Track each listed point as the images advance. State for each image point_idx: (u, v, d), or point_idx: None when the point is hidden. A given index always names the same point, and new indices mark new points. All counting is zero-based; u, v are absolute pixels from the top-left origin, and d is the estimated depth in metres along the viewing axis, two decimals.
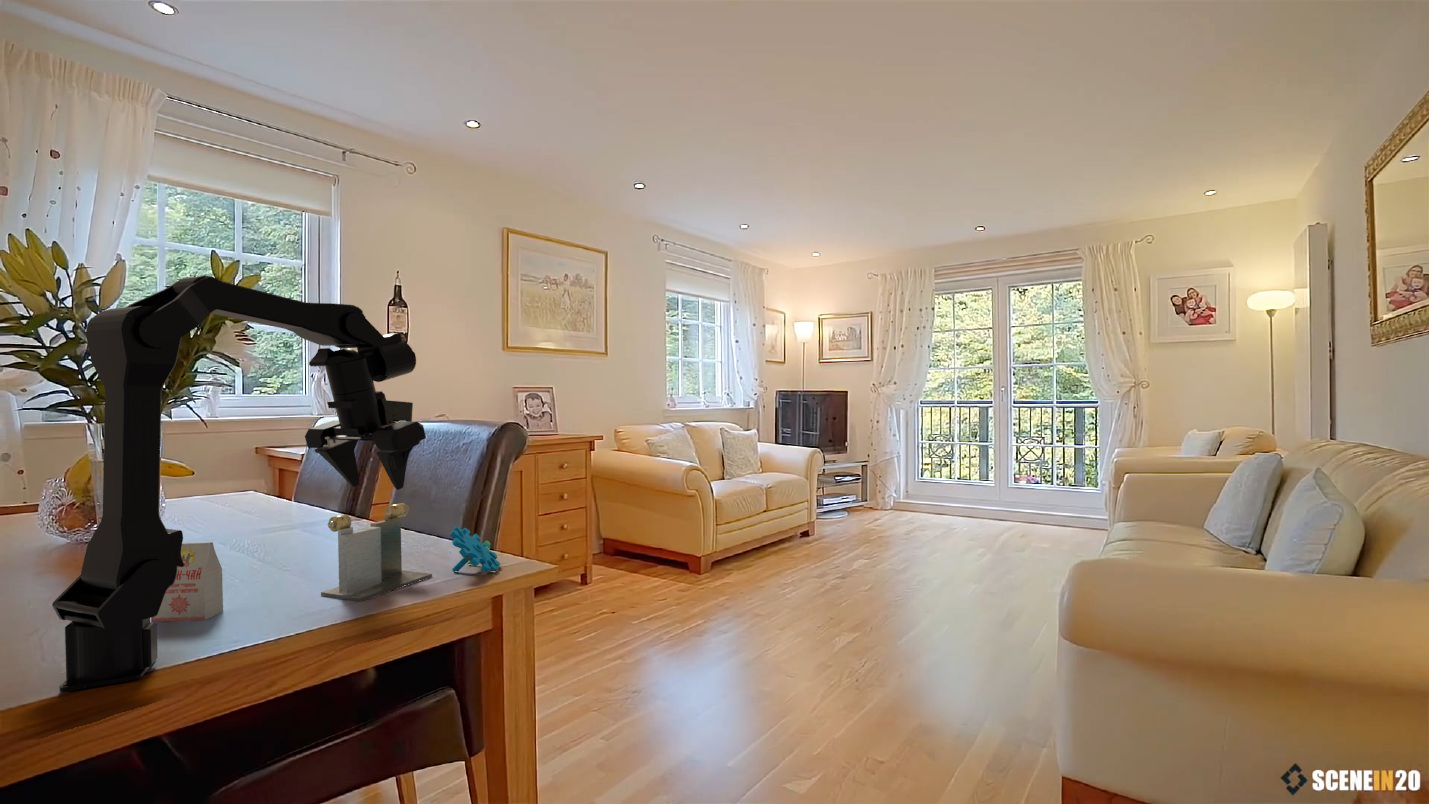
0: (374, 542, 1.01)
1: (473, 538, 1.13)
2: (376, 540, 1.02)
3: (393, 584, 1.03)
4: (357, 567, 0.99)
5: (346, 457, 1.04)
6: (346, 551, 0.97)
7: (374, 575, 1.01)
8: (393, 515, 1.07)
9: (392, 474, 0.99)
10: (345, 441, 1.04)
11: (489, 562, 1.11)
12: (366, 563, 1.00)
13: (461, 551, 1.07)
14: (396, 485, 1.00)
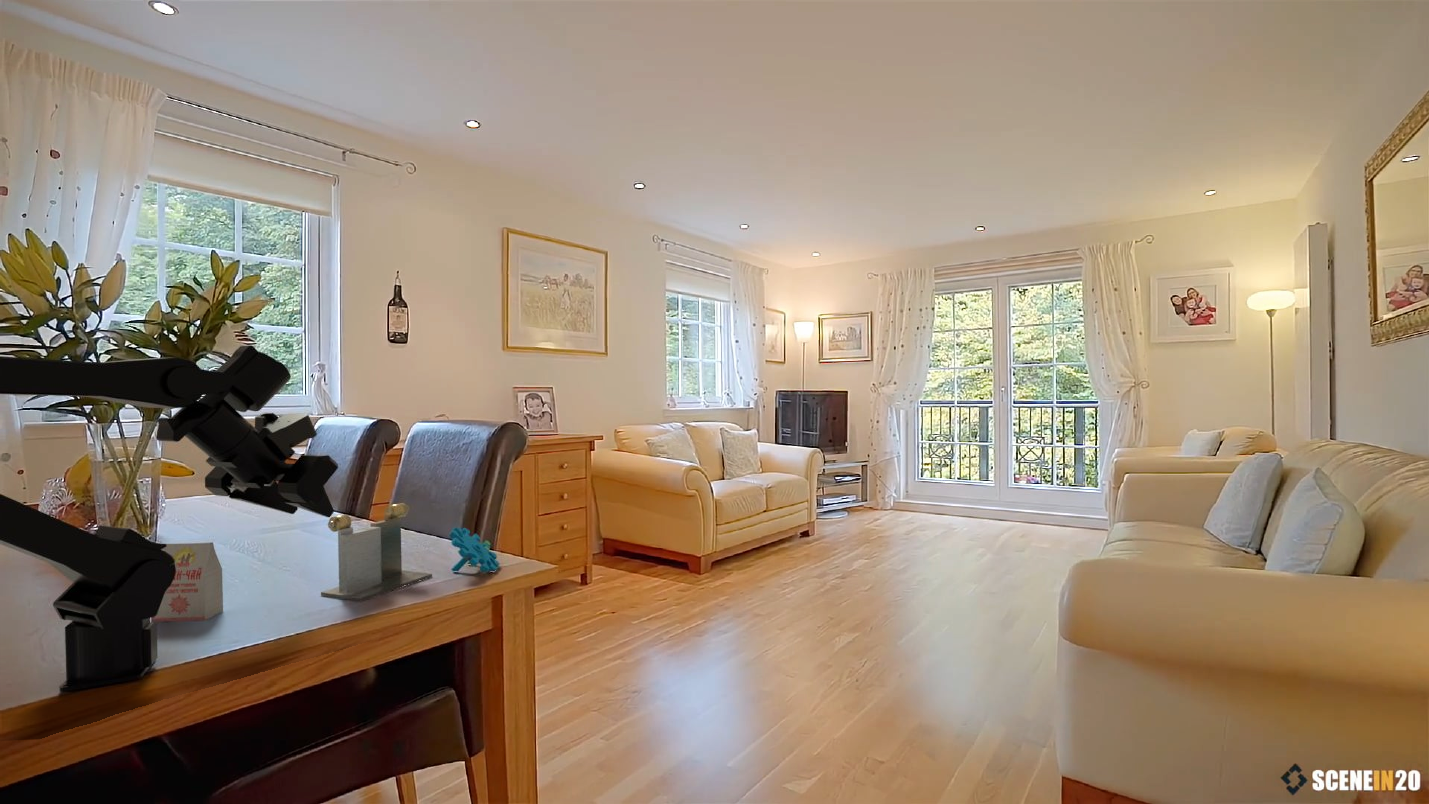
0: (374, 542, 1.01)
1: (473, 538, 1.13)
2: (376, 540, 1.02)
3: (393, 584, 1.03)
4: (357, 567, 0.99)
5: (268, 491, 0.91)
6: (346, 551, 0.97)
7: (374, 575, 1.01)
8: (393, 515, 1.07)
9: (314, 511, 0.88)
10: None
11: (488, 562, 1.11)
12: (366, 563, 1.00)
13: (460, 551, 1.07)
14: (325, 515, 0.90)
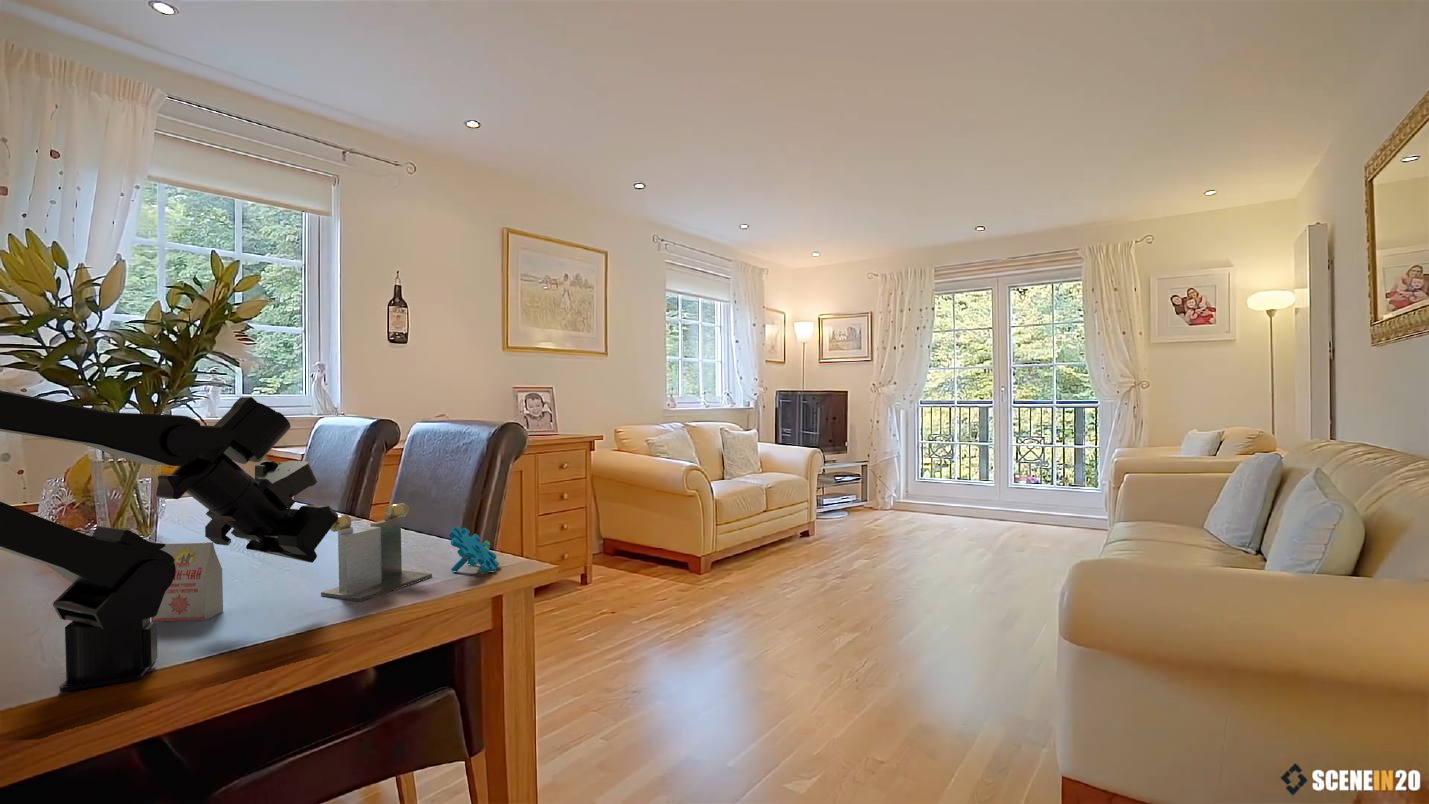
0: (374, 542, 1.01)
1: (472, 538, 1.13)
2: (376, 540, 1.02)
3: (393, 584, 1.03)
4: (357, 567, 0.99)
5: None
6: (346, 551, 0.97)
7: (374, 575, 1.01)
8: (393, 515, 1.07)
9: (297, 558, 0.90)
10: None
11: (488, 562, 1.11)
12: (366, 563, 1.00)
13: (459, 551, 1.07)
14: (308, 561, 0.92)
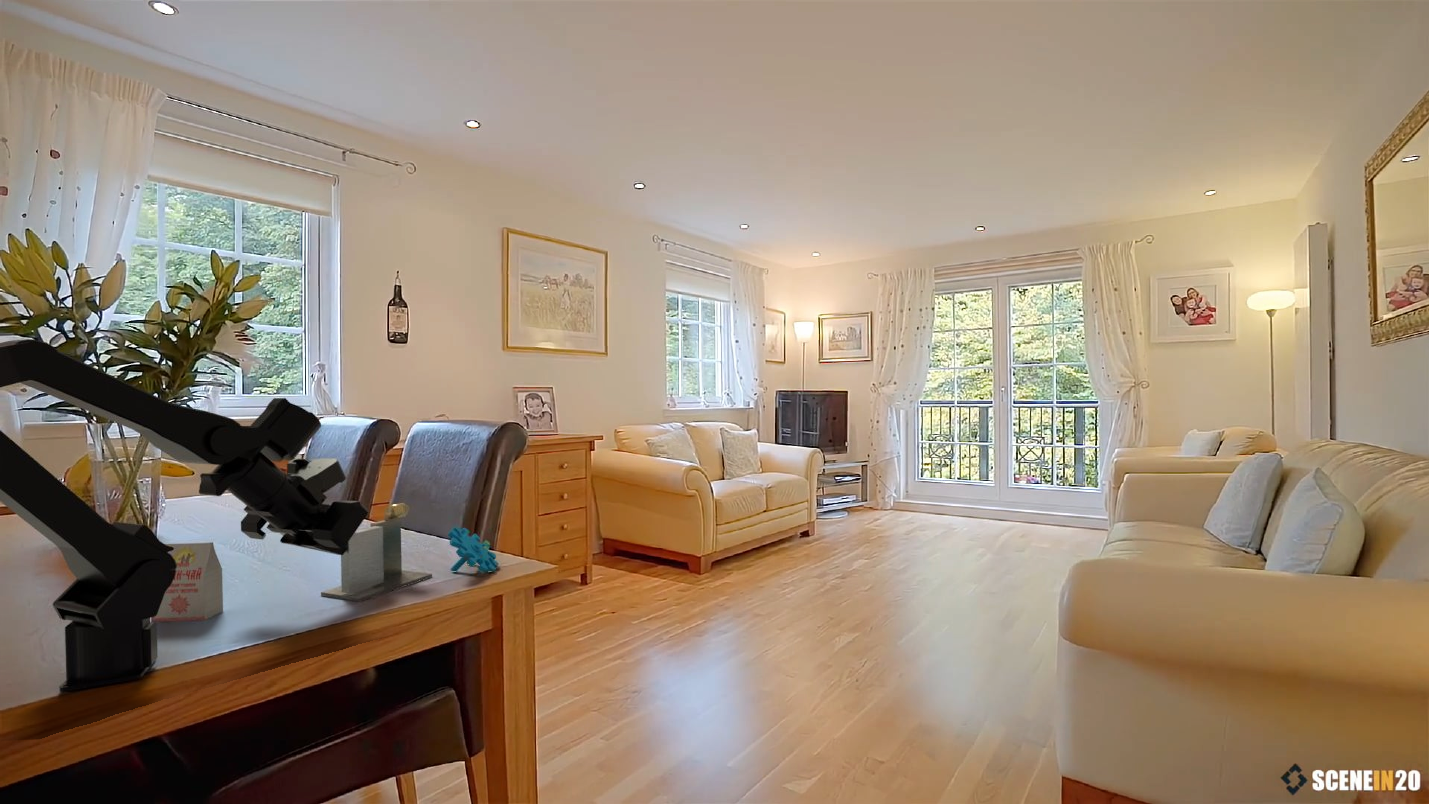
0: (376, 541, 1.02)
1: (472, 538, 1.13)
2: (379, 540, 1.02)
3: (393, 584, 1.03)
4: (359, 566, 0.99)
5: None
6: (349, 550, 0.97)
7: (376, 574, 1.02)
8: (393, 515, 1.07)
9: (328, 551, 0.94)
10: None
11: (487, 562, 1.11)
12: (369, 562, 1.01)
13: (458, 551, 1.07)
14: (338, 554, 0.96)
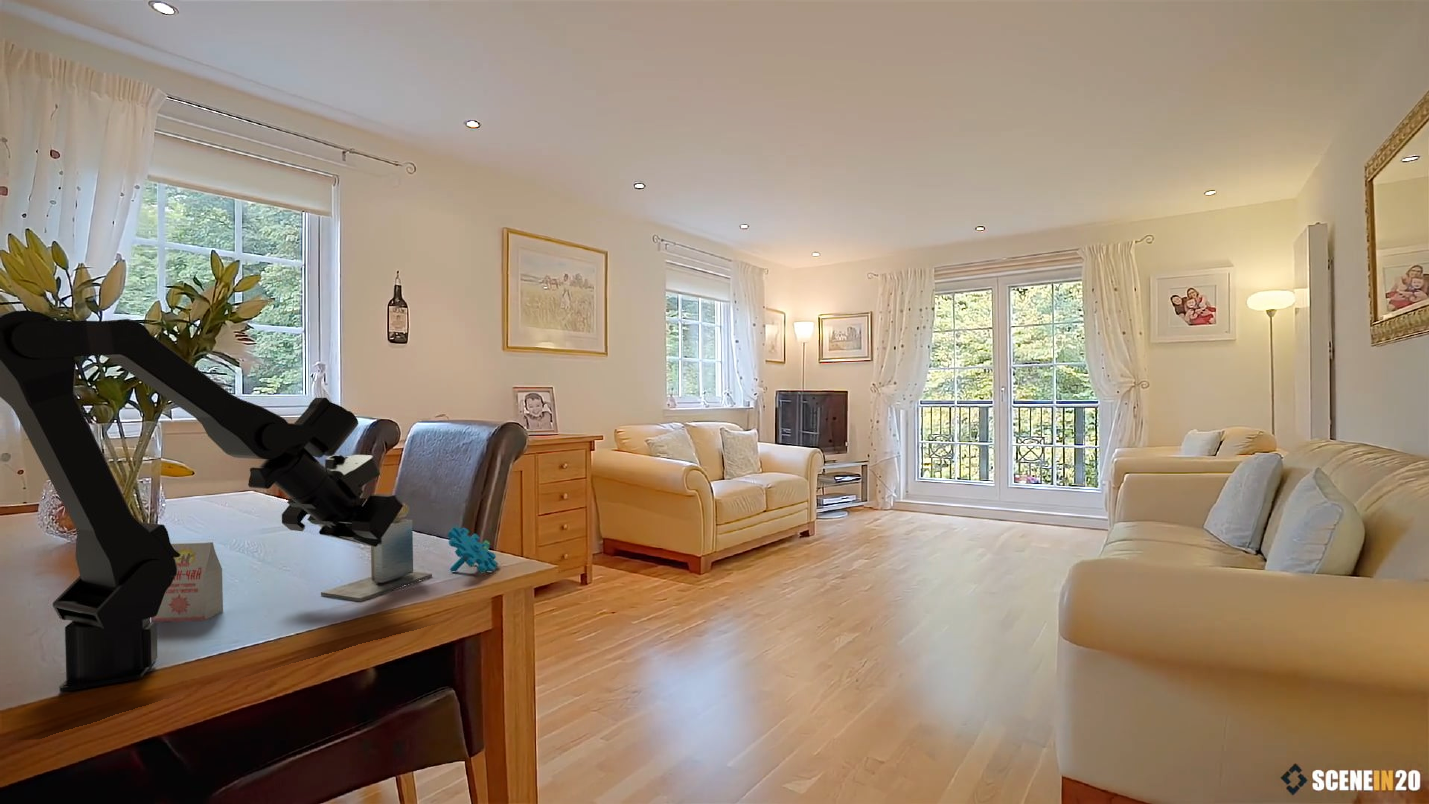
0: (406, 534, 1.07)
1: (471, 538, 1.14)
2: (409, 532, 1.08)
3: (393, 584, 1.03)
4: (391, 557, 1.04)
5: None
6: (382, 542, 1.03)
7: (406, 565, 1.07)
8: None
9: (364, 542, 0.99)
10: None
11: (486, 562, 1.11)
12: (400, 553, 1.06)
13: (457, 551, 1.07)
14: (372, 545, 1.01)
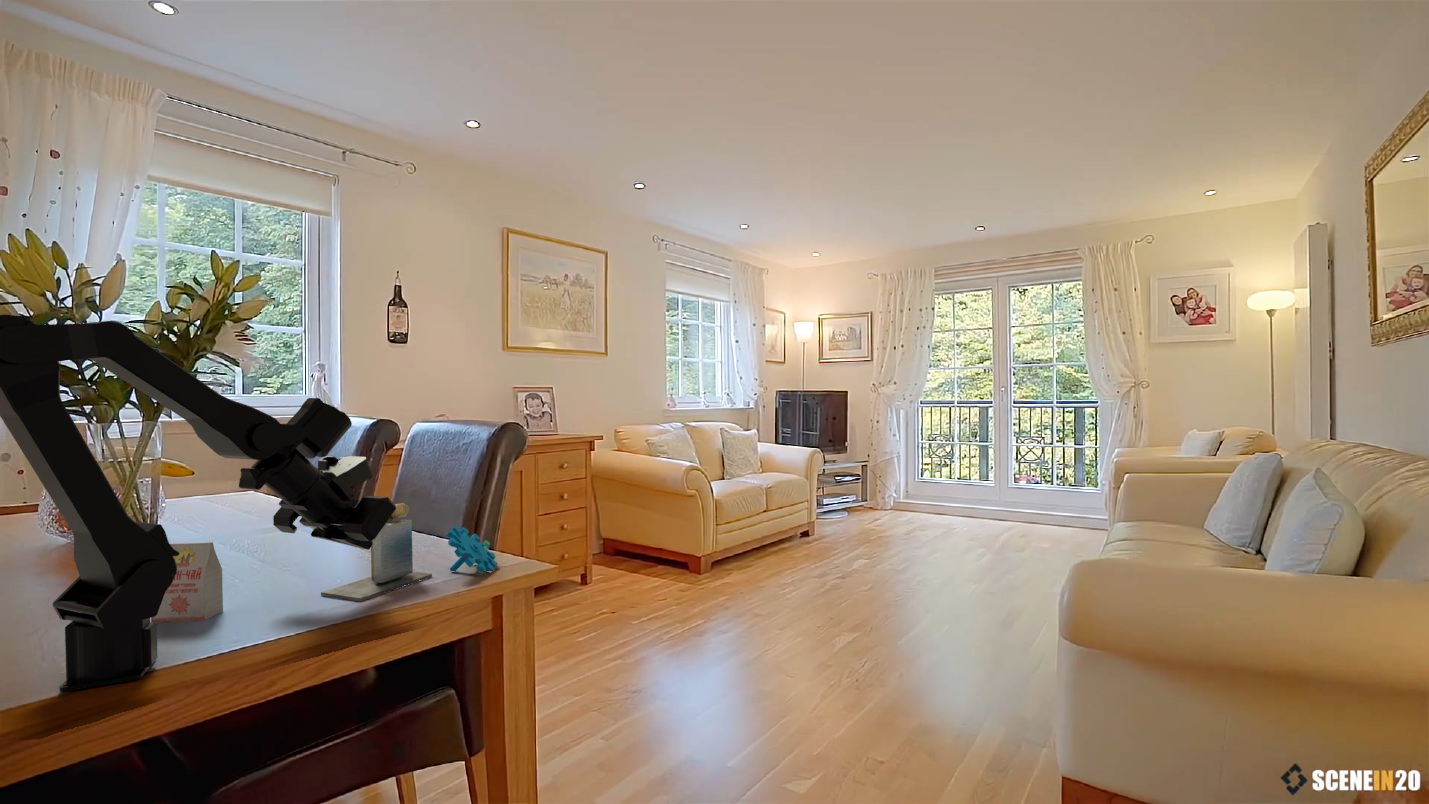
0: (406, 534, 1.07)
1: (471, 538, 1.14)
2: (408, 532, 1.07)
3: (393, 584, 1.03)
4: (391, 557, 1.04)
5: None
6: (381, 542, 1.03)
7: (406, 565, 1.07)
8: (393, 515, 1.07)
9: (356, 545, 0.98)
10: None
11: (486, 562, 1.11)
12: (399, 554, 1.06)
13: (456, 551, 1.07)
14: (365, 548, 1.00)
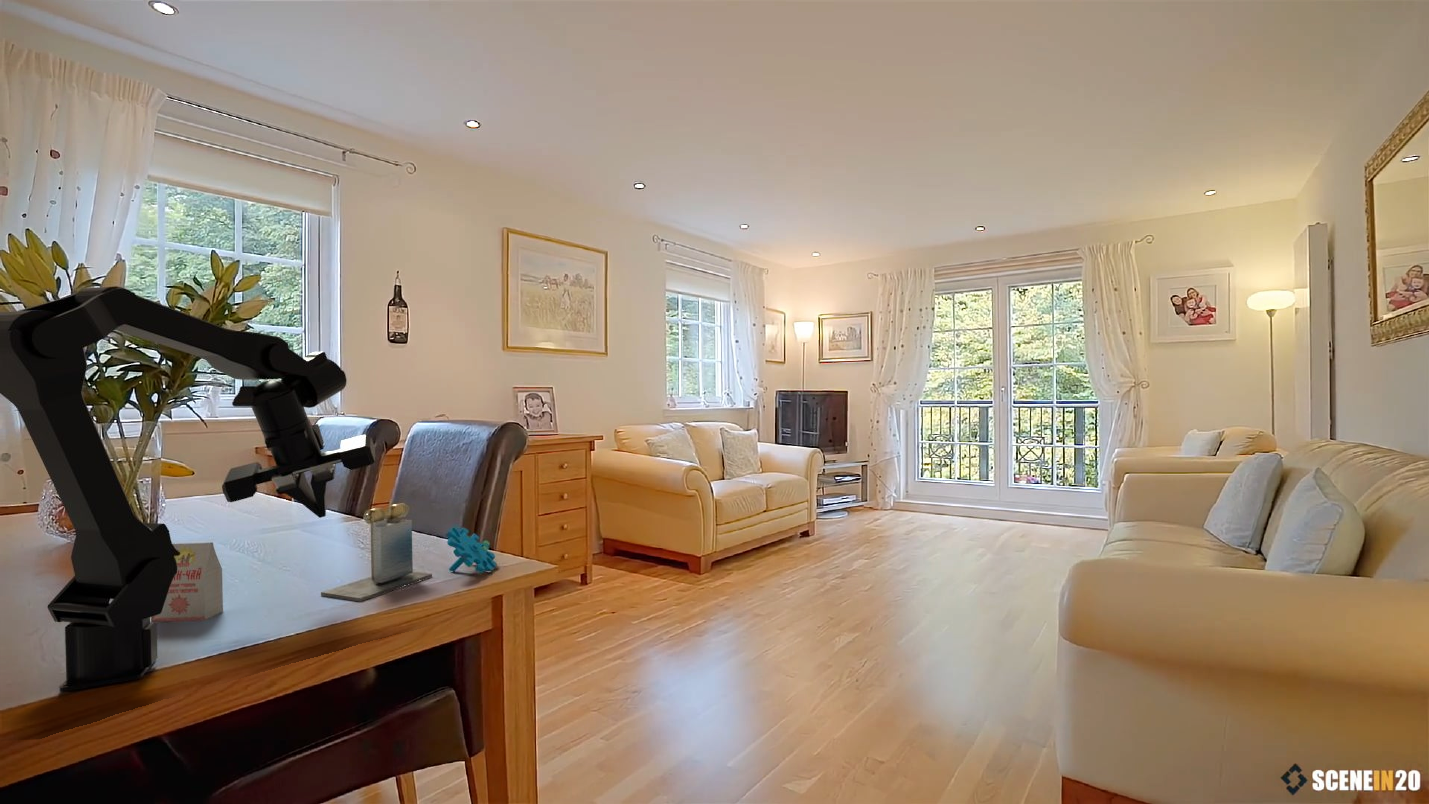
0: (406, 534, 1.07)
1: (471, 538, 1.14)
2: (408, 532, 1.07)
3: (393, 584, 1.03)
4: (391, 557, 1.04)
5: (307, 489, 0.97)
6: (381, 542, 1.03)
7: (406, 565, 1.07)
8: (393, 515, 1.07)
9: (324, 501, 0.97)
10: (298, 474, 0.97)
11: (485, 562, 1.11)
12: (399, 554, 1.06)
13: (455, 551, 1.07)
14: (325, 512, 0.99)
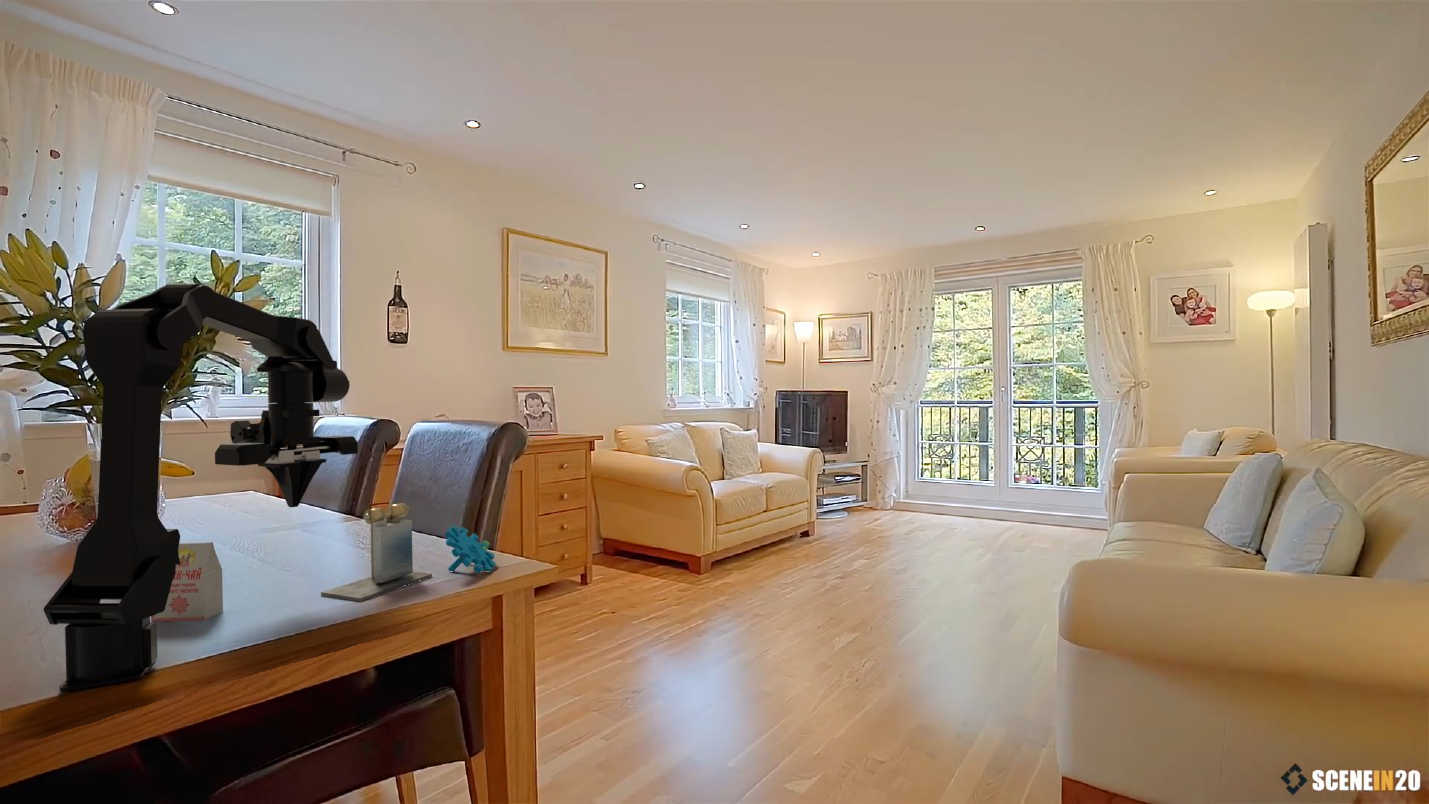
0: (406, 534, 1.07)
1: (470, 538, 1.14)
2: (408, 532, 1.07)
3: (393, 584, 1.03)
4: (391, 557, 1.04)
5: None
6: (381, 542, 1.03)
7: (406, 565, 1.07)
8: (393, 515, 1.07)
9: (307, 486, 1.01)
10: None
11: (483, 562, 1.11)
12: (399, 554, 1.06)
13: (453, 551, 1.07)
14: (300, 500, 1.01)
